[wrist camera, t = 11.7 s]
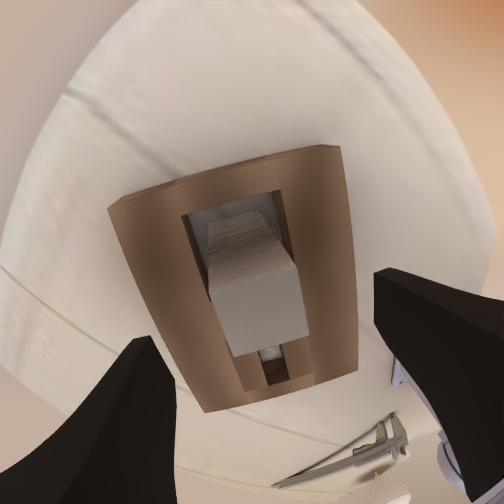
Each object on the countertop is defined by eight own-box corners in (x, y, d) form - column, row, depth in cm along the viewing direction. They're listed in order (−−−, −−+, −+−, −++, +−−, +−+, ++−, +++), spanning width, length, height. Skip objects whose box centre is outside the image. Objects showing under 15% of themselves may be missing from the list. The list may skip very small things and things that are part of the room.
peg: (257, 209, 17) (296, 267, 10) (268, 255, 18) (309, 335, 11) (207, 223, 17) (208, 292, 10) (222, 268, 18) (233, 357, 11)
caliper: (391, 410, 28) (413, 447, 23) (394, 411, 29) (416, 448, 23) (270, 484, 32) (278, 519, 26) (275, 485, 33) (283, 519, 27)
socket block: (321, 144, 16) (339, 146, 14) (345, 350, 22) (357, 369, 20) (120, 198, 16) (107, 208, 13) (203, 390, 22) (204, 413, 20)
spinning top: (350, 485, 38) (370, 535, 27) (361, 469, 35) (385, 525, 24) (386, 473, 39) (408, 518, 28) (400, 455, 36) (426, 505, 25)
